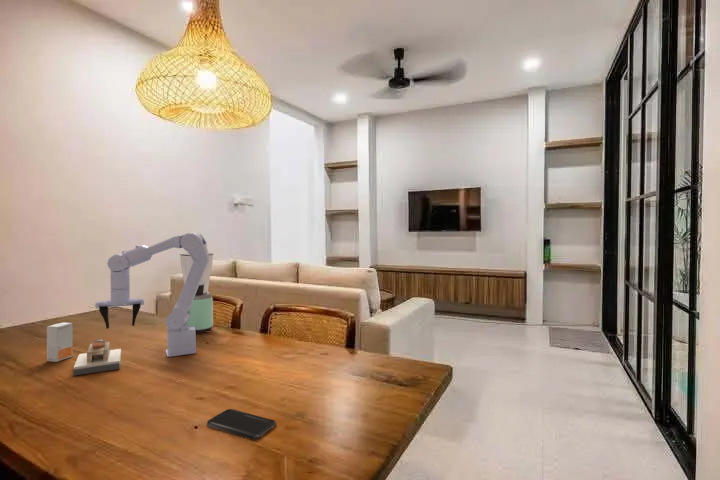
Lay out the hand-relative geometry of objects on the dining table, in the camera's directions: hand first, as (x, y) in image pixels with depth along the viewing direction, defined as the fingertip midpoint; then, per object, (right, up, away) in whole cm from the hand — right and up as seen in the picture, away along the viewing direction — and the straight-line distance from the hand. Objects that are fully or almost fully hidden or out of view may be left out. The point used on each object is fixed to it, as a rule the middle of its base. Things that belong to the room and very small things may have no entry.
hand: (120, 326), depth 137 cm
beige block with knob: (-2, -8, -9) cm, 12 cm away
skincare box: (-19, -11, -3) cm, 22 cm away
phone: (+57, -13, -46) cm, 75 cm away
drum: (-2, -5, -9) cm, 10 cm away
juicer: (+14, -10, +33) cm, 36 cm away
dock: (-2, -11, -9) cm, 14 cm away
